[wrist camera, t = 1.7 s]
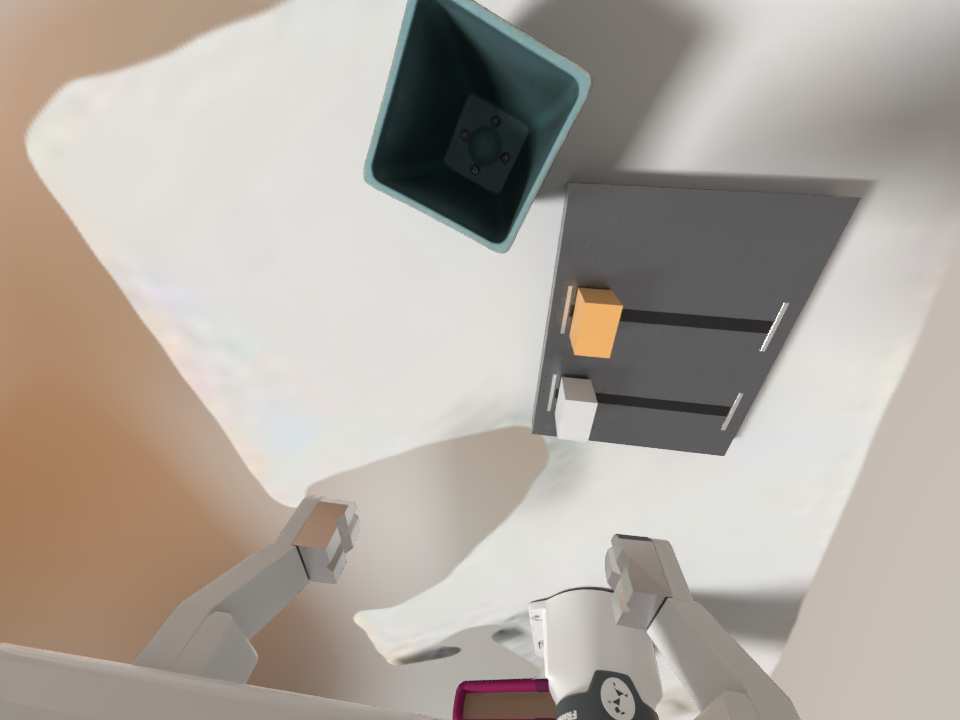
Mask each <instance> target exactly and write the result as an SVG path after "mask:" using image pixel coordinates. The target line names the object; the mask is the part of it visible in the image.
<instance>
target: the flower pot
mask: <svg viewBox="0 0 960 720" xmlns="http://www.w3.org/2000/svg"><path fill="white" fill-rule="evenodd" d="M591 87H592V77H591V75H590V73H589V72H587V71H586V70H585V69H584V68H582V67H581V66H579V65H578V64H576V63H574V62H572V61H570V60H569V59H568V58H566V57H564V56H562V55H561V54H559V53H557V52H556V51H554V50H553V49H551V48H549V47H547V46H546V45H544V44H543V43H541V42H539V41H538V40H536V39H534V38H533V37H532V36H530V35H528V34H527V33H525V32H523V31H521V30H520V29H518V28H517V27H515V26H514V25H512V24H510V23H509V22H507V21H505V20H504V19H503V18H501V17H499V16H498V15H496V14H494V13H493V12H491V11H490V10H488V9H487V8H485V7H483V6H482V5H480V4H479V3H477V2H476V1H474V0H408V1H407V5H406V9H405V13H404V17H403V20H402V25H401V29H400V33H399V37H398V41H397V46H396V49H395V53H394V58H393V61H392V66H391V69H390V73H389V77H388V81H387V84H386V89H385V92H384V96H383V100H382V103H381V106H380V110H379V114H378V118H377V121H376V124H375V129H374V133H373V135H372V139H371V143H370V147H369V150H368V154H367V158H366V161H365V165H364V172H363V176H364V180H365V182H366V183H367V184H368V185H370V186H372V187H373V188H375V189H377V190H379V191H381V192H383V193H385V194H387V195H389V196H391V197H393V198H395V199H397V200H399V201H401V202H403V203H405V204H407V205H409V206H411V207H413V208H415V209H416V210H419V211H420V212H423V213H424V214H426V215H428V216H430V217H432V218H434V219H436V220H437V221H439V222H441V223H443V224H445V225H447V226H449V227H451V228H453V229H454V230H456V231H458V232H460V233H462V234H464V235H465V236H467V237H469V238H471V239H473V240H475V241H476V242H478V243H480V244H482V245H484V246H485V247H487V248H488V249H490V250H492V251H495V252H497V253H506V252H507V251H508V250H509V249H510V247H511V245H512V244H513V242H514V240H515V238H516V235H517V233H518V231H519V229H520V227H521V225H522V223H523V221H524V219H525V217H526V215H527V213H528V211H529V209H530V207H531V205H532V203H533V201H534V199H535V197H536V195H537V193H538V191H539V189H540V187H541V185H542V183H543V182H544V179H545V177H546V175H547V173H548V172H549V170H550V168H551V166H552V164H553V162H554V160H555V158H556V156H557V154H558V152H559V150H560V148H561V146H562V144H563V142H564V140H565V139H566V137H567V135H568V133H569V131H570V129H571V127H572V125H573V124H574V122H575V120H576V118H577V116H578V114H579V112H580V111H581V109H582V107H583V105H584V103H585V101H586V99H587V97H588V95H589V93H590V90H591ZM493 118H497V119H498V120H499V124H498V126H496V127H495V126H493V125H492V119H493ZM463 131H467V132H468V138H467V139H466V140H464V139H462V138H461V133H462V132H463ZM504 154H507V155H508V157H509V159H508V161H507V162H505V163H504V162H503V161H502V156H503V155H504ZM474 166H477V167H478V168H479V172H478V174H474V173H473V172H472V168H473V167H474Z"/></svg>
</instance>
